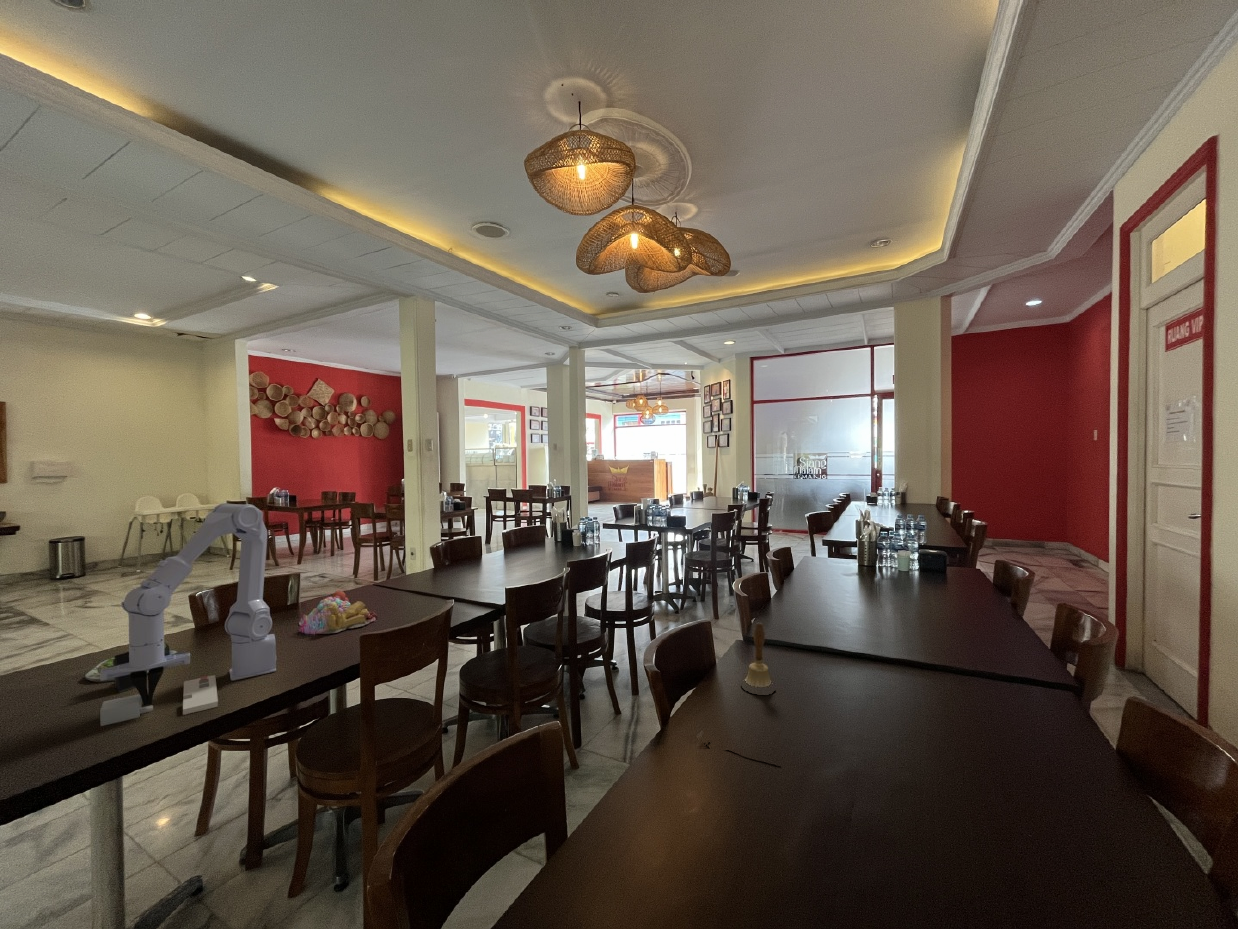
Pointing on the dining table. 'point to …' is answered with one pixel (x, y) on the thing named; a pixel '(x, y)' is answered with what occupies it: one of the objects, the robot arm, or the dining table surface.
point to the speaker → (124, 681)
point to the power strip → (200, 694)
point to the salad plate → (95, 672)
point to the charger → (122, 709)
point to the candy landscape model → (336, 616)
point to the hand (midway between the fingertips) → (147, 703)
